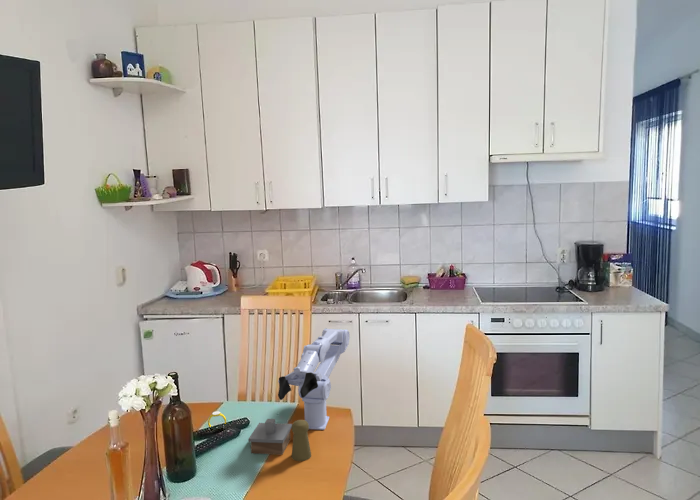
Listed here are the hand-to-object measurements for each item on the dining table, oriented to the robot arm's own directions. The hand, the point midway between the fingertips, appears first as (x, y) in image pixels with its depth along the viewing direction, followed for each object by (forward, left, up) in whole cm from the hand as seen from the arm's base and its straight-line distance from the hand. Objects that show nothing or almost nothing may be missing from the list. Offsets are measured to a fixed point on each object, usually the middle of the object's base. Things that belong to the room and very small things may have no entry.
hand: (290, 396), depth 160 cm
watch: (-14, -30, -19) cm, 38 cm away
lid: (-4, -8, -15) cm, 17 cm away
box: (-4, -8, -19) cm, 21 cm away
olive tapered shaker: (+1, +3, -19) cm, 19 cm away
